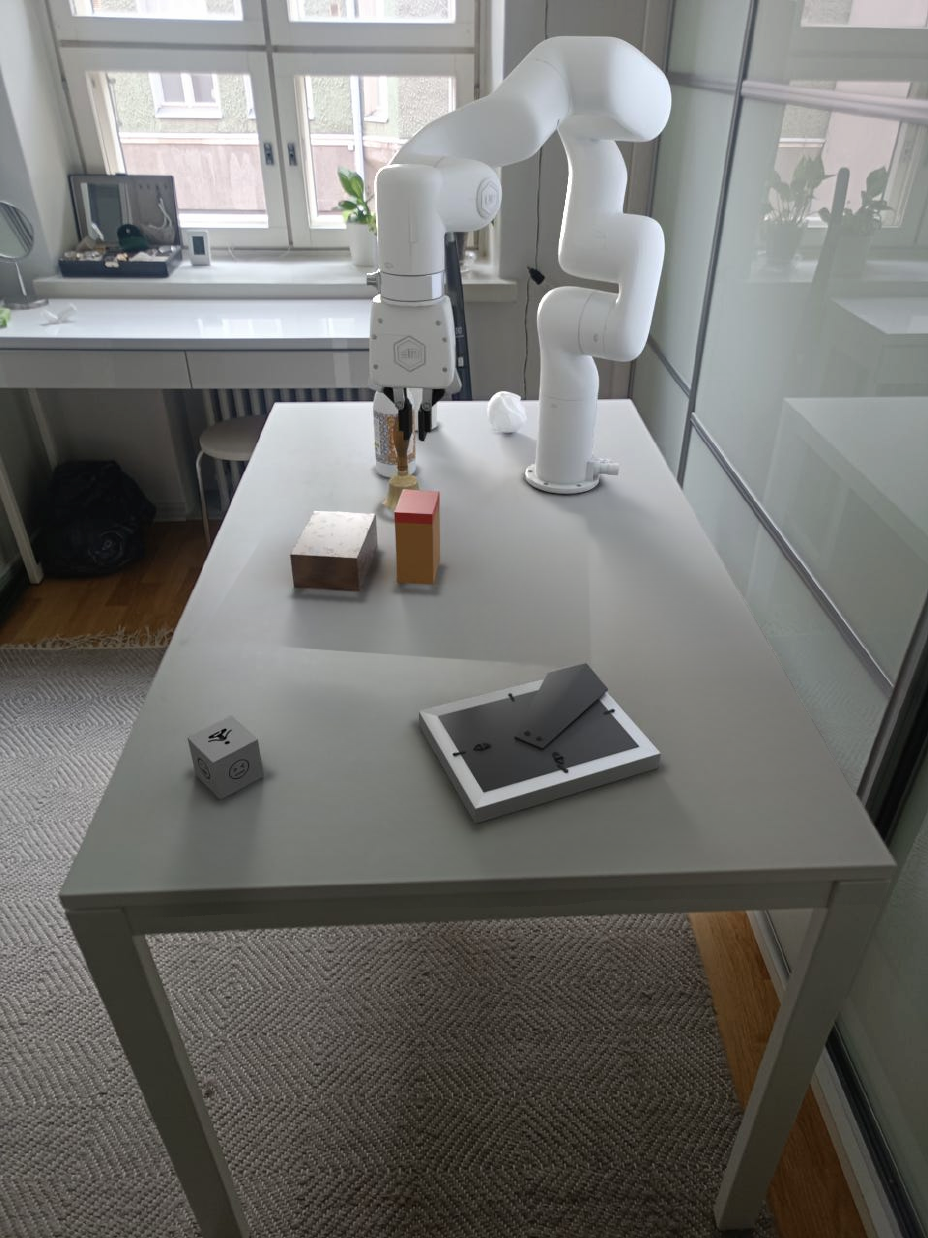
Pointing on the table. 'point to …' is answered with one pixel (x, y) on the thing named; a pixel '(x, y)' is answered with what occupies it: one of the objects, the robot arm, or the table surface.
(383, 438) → the bath foam
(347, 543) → the walnut box
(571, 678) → the picture frame
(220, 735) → the dice cube
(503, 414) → the crumpled paper ball
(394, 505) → the hand bell
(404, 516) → the container
